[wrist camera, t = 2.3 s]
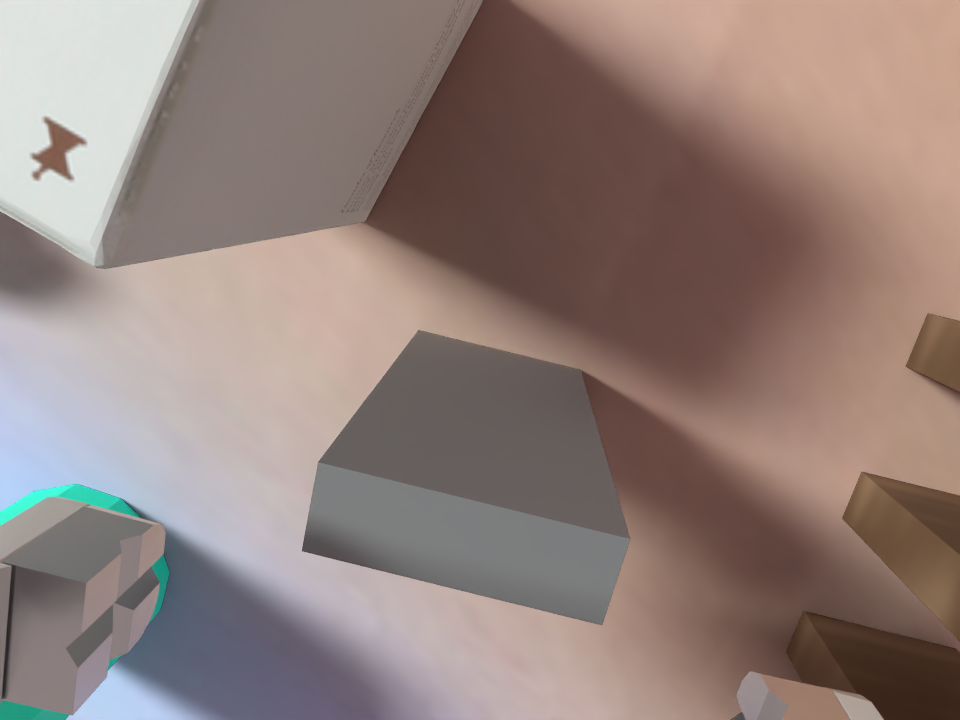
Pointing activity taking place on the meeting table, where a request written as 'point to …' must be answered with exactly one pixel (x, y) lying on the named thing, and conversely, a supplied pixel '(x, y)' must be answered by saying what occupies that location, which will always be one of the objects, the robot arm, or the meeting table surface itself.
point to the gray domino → (475, 481)
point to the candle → (15, 716)
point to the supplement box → (209, 116)
